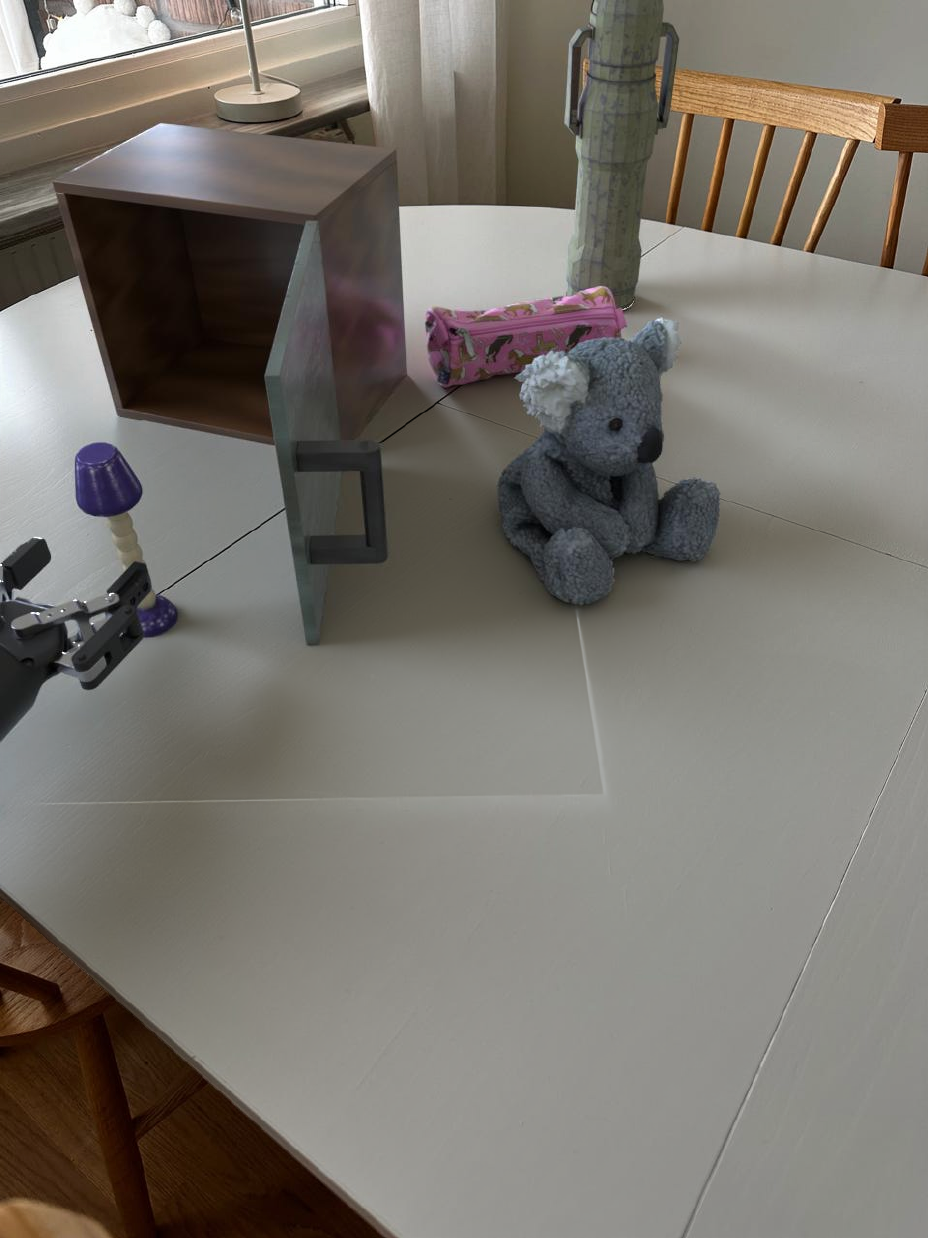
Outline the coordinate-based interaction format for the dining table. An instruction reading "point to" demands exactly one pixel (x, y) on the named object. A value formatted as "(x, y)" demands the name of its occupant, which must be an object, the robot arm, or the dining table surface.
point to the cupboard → (234, 270)
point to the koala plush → (601, 466)
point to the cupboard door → (317, 441)
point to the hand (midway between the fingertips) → (93, 558)
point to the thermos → (615, 138)
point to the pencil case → (515, 334)
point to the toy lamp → (119, 519)
